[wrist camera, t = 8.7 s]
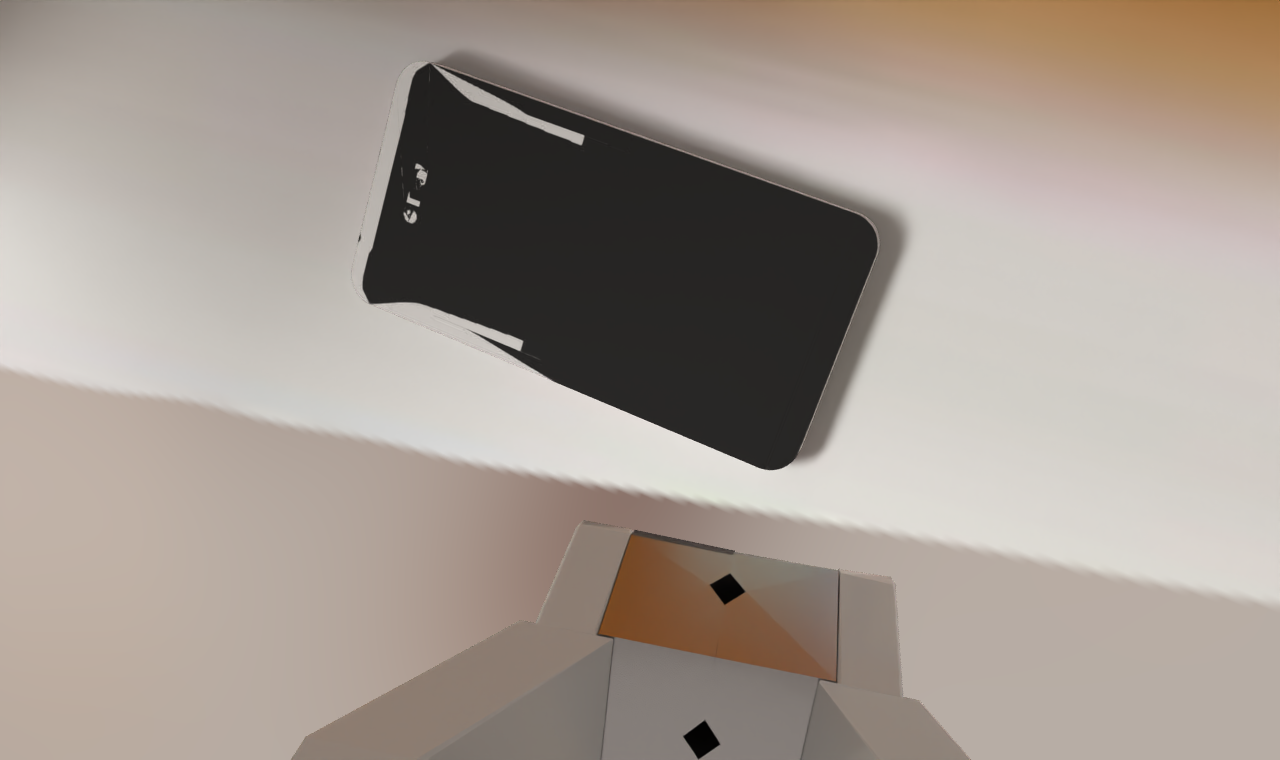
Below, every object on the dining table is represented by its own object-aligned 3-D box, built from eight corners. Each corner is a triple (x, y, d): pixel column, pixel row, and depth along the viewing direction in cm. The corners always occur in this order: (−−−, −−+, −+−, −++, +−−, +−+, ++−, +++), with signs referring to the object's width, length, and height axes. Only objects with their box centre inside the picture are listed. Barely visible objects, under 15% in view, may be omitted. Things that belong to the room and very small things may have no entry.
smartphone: (787, 479, 29) (345, 293, 33) (795, 467, 30) (368, 289, 34) (888, 224, 27) (403, 53, 30) (892, 222, 28) (426, 58, 32)
